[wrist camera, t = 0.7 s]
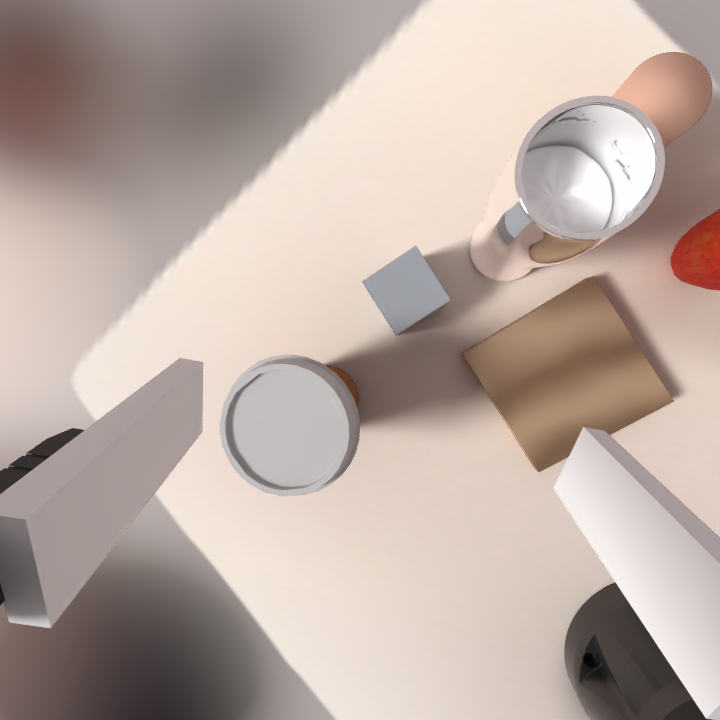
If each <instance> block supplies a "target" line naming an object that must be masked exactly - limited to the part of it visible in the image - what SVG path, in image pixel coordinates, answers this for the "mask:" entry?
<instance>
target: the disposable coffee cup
mask: <svg viewBox="0 0 720 720" xmlns="http://www.w3.org/2000/svg"><path fill="white" fill-rule="evenodd" d="M358 400H359V398H358V391H357V388H356V386H355V384H354V382H353V380H352V379H351V378H350V377H349V376H348V375H347V374H346V373H345V372H343V371H342V370H340V369H338V368H335V367H331V366H325V365H323V364H322V363H320V362H318V361H315V360H313V359H310V358H307V357H302V356H297V355H281V356H274V357H270V358H267V359H265V360H262V361H259V362H258V363H256V364H254V365H252V366H251V367H250V368H248V369H247V370H246V371H245V372H244V373H242V375H241V376H240V377H239V378H238V379H237V380H236V382H235V383H234V385H233V386H232V388H231V390H230V392H229V394H228V397H227V399H226V401H225V402H224V406H223V410H222V414H221V420H220V435H221V440H222V445H223V448H224V450H225V453H226V455H227V457H228V460H229V461H230V463H231V465H232V466H233V468H234V469H235V470H236V471H237V473H238V474H239V475H240V476H241V477H242V478H243V479H245V480H246V481H247V482H248V483H249V484H251V485H252V486H254V487H256V488H258V489H260V490H262V491H264V492H267V493H271V494H275V495H279V496H293V495H304V494H308V493H312V492H316V491H319V490H321V489H323V488H325V487H327V486H329V485H331V484H332V483H333V482H334V481H335V480H336V479H338V478H339V477H340V476H341V475H342V474H343V473H344V472H345V470H346V469H347V468H348V466H349V465H350V463H351V461H352V459H353V457H354V455H355V453H356V450H357V446H358V442H359V433H360V421H359V413H358V410H357V408H358Z"/></svg>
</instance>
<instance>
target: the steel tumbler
mask: <svg viewBox="0 0 720 720" xmlns="http://www.w3.org/2000/svg"><path fill="white" fill-rule="evenodd" d="M664 170H665V152H664V146H663V142H662V139H661V136H660V134H659V132H658V130H657V128H656V126H655V125H654V123H653V122H652V121H651V120H650V118H649V117H648V116H647V115H646V114H645V113H644V112H642V111H641V110H640V109H639V108H637V107H636V106H634V105H632V104H630V103H628V102H626V101H624V100H621V99H617V98H613V97H608V96H587V97H581V98H577V99H574V100H571V101H568V102H565V103H563V104H561V105H559V106H557V107H555V108H554V109H552V110H551V111H549V112H548V113H547V114H545V115H544V116H543V117H542V118H541V119H540V120H538V122H537V123H536V124H535V125H534V126H533V127H532V128H531V130H530V131H529V132H528V134H527V135H526V137H525V138H524V140H523V142H522V143H521V144H520V145H519V147H518V148H517V149H516V151H515V152H514V153H513V155H512V156H511V157H510V159H509V160H508V162H507V163H506V165H505V166H504V168H503V170H502V171H501V173H500V175H499V176H498V178H497V181H496V183H495V185H494V187H493V189H492V191H491V194H490V197H489V201H488V205H487V209H486V216H485V219H483V220H482V221H481V222H480V223H479V225H478V226H477V227H476V229H475V230H474V232H473V234H472V237H471V241H470V255H471V259H472V262H473V264H474V265H475V267H476V268H477V270H478V271H479V272H480V273H481V274H483V275H484V276H486V277H487V278H489V279H492V280H495V281H501V282H508V281H513V280H517V279H519V278H522V277H523V276H525V275H527V274H528V273H529V272H530V271H532V270H533V269H534V267H544V266H550V265H555V264H559V263H562V262H565V261H567V260H570V259H572V258H575V257H577V256H579V255H581V254H583V253H585V252H587V251H589V250H591V249H592V248H594V247H596V246H598V245H599V244H601V243H602V242H604V241H605V240H607V239H608V238H610V237H611V236H613V235H614V234H616V233H617V232H619V231H621V230H623V229H625V228H626V227H628V226H629V225H631V224H632V223H633V222H635V221H636V220H637V219H638V218H639V217H640V216H641V215H642V214H643V213H644V212H645V211H646V210H647V209H648V207H649V206H650V205H651V203H652V202H653V200H654V198H655V197H656V195H657V193H658V191H659V188H660V186H661V183H662V180H663V176H664Z"/></svg>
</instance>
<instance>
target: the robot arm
mask: <svg viewBox="0 0 720 720" xmlns="http://www.w3.org/2000/svg"><path fill="white" fill-rule="evenodd" d="M202 411H203V362H200V361H194V360H188V359H182V358H179V359H178V360H177V361H175V362H174V363H173V364H171V365H170V366H169V367H168V368H166V369H165V370H164V371H162V372H161V373H160V374H158V375H157V376H156V377H154V378H153V379H152V380H150V381H149V382H148V383H146V384H145V385H144V386H142V387H141V388H140V389H138V390H137V391H136V392H135V393H133V394H132V395H131V396H129V397H128V398H127V399H125V400H124V401H123V402H121V403H120V404H119V405H117V406H116V407H115V408H113V409H112V410H111V411H109V412H108V413H107V414H106V415H104V416H103V417H102V418H100V419H99V420H98V421H96V422H95V423H94V424H92V425H91V426H90V427H88V428H87V429H86V430H81V429H75V428H72V429H69V430H67V431H64V432H62V433H60V434H57V435H55V436H53V437H51V438H48V439H46V440H45V441H43V442H42V443H40V444H39V445H37V446H36V447H35V448H33V449H32V450H30V451H29V452H27V454H26V456H22V457H20V458H19V459H17V460H16V461H14V462H13V463H11V464H10V465H9V467H8V468H7V469H6V468H4V469H3V470H1V471H0V605H1V604H2V603H3V602H4V606H5V609H6V612H7V616H8V619H9V622H11V623H18V624H25V625H33V626H40V627H47V628H51V627H52V626H53V625H54V623H55V622H56V621H57V619H58V618H59V617H60V615H61V614H62V613H63V612H64V610H65V609H66V608H67V606H68V605H69V604H70V603H71V601H72V600H73V599H74V597H75V596H76V595H77V594H78V592H79V591H80V590H81V588H82V587H83V586H84V584H85V583H86V582H87V581H88V579H89V578H90V577H91V575H92V574H93V573H94V571H95V570H96V569H97V568H98V566H99V565H100V564H101V562H102V561H103V560H104V558H105V557H106V556H107V555H108V553H109V552H110V550H111V549H112V548H113V547H114V546H115V544H116V543H117V542H118V540H119V539H120V538H121V536H122V535H123V534H124V533H125V531H126V530H127V529H128V527H129V526H130V525H131V523H132V522H133V521H134V519H135V518H136V517H137V516H138V514H139V513H140V512H141V511H142V509H143V508H144V506H145V505H146V504H147V503H148V501H149V500H150V499H151V497H152V496H153V495H154V494H155V492H156V491H157V490H158V488H159V487H160V486H161V485H162V483H163V482H164V481H165V479H166V478H167V477H168V475H169V474H170V473H171V472H172V470H173V469H174V468H175V466H176V465H177V464H178V463H179V461H180V460H181V459H182V457H183V456H184V455H185V453H186V452H187V451H188V450H189V448H190V447H191V446H192V444H193V443H194V442H195V440H196V439H197V438H198V437H199V435H200V434H201V433H202ZM554 491H555V492H556V494H557V495H558V497H559V498H560V500H561V501H562V503H563V504H564V506H565V507H566V509H567V510H568V512H569V513H570V515H571V516H572V518H573V519H574V521H575V522H576V524H577V525H578V527H579V528H580V530H581V531H582V533H583V534H584V536H585V537H586V539H587V540H588V542H589V543H590V545H591V546H592V548H593V549H594V551H595V552H596V554H597V555H598V557H599V558H600V560H601V561H602V563H603V564H604V566H605V567H606V569H607V570H608V572H609V573H610V575H611V576H612V578H613V579H614V581H615V582H616V584H613V585H611V586H609V587H607V588H605V589H603V590H601V591H600V592H598V593H597V594H595V595H594V596H592V597H591V598H590V599H589V600H588V601H587V602H586V603H585V604H584V605H583V606H582V607H581V608H580V609H579V611H578V612H577V613H576V615H575V617H574V618H573V620H572V622H571V624H570V627H569V629H568V632H567V636H566V641H565V663H566V668H567V672H568V675H569V678H570V680H571V683H572V685H573V687H574V689H575V691H576V693H577V696H578V698H579V700H580V702H581V704H582V706H583V708H584V710H585V711H586V713H587V715H588V716H589V718H590V719H591V720H720V537H719V536H718V535H717V534H715V533H714V532H713V531H712V530H711V529H710V528H709V527H708V526H707V525H706V524H705V523H704V522H702V521H701V520H700V519H699V518H698V517H697V516H696V515H695V514H694V513H693V512H692V511H691V510H690V509H688V508H687V507H686V506H685V505H684V504H683V503H682V502H681V501H680V500H679V499H678V498H677V497H676V496H674V495H673V494H672V493H671V492H670V491H669V490H668V489H667V488H666V487H665V486H664V485H663V484H662V483H660V482H659V481H658V480H657V479H656V478H655V477H654V476H653V475H652V474H651V473H650V472H649V471H647V470H646V469H645V468H644V467H643V466H642V465H641V464H640V463H639V462H638V461H637V460H636V459H635V458H633V457H632V456H631V455H630V454H629V453H628V452H627V451H626V450H625V449H624V448H623V447H622V446H621V445H619V444H618V443H617V442H616V441H615V440H614V439H613V438H612V437H611V436H610V435H609V434H608V433H607V432H605V431H604V430H598V429H592V428H586V427H583V429H582V431H581V433H580V435H579V437H578V439H577V441H576V443H575V445H574V447H573V449H572V451H571V454H570V456H569V458H568V460H567V462H566V464H565V466H564V468H563V470H562V472H561V474H560V476H559V478H558V480H557V483H556V485H555V487H554Z"/></svg>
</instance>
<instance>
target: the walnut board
mask: <svg viewBox="0 0 720 720" xmlns="http://www.w3.org/2000/svg"><path fill="white" fill-rule="evenodd" d="M462 355H463V356H464V358H465V359H466V361H467V362H468V364H469V366H470V367H471V369H472V370H473V372H474V374H475V375H476V377H477V378H478V380H479V381H480V383H481V385H482V386H483V388H484V389H485V391H486V392H487V394H488V396H489V397H490V399H491V400H492V402H493V404H494V405H495V407H496V408H497V410H498V411H499V413H500V415H501V416H502V418H503V419H504V421H505V422H506V424H507V426H508V427H509V429H510V430H511V432H512V434H513V435H514V437H515V438H516V440H517V441H518V443H519V445H520V446H521V448H522V449H523V451H524V453H525V454H526V456H527V457H528V459H529V460H530V462H531V464H532V465H533V466H534V468H535V469H536V470H537V471H538V472H540V471H542V470H544V469H546V468H548V467H550V466H552V465H554V464H556V463H557V462H559V461H561V460H563V459H565V458H567V457H569V456H570V454H571V451H572V449H573V447H574V445H575V443H576V441H577V439H578V437H579V435H580V433H581V431H582V429H583V427H586V428H592V429H598V430H604V431H605V432H607V433H608V434H609V435H611V434H613V433H614V432H616V431H618V430H620V429H622V428H624V427H626V426H628V425H630V424H632V423H633V422H635V421H637V420H639V419H641V418H643V417H645V416H647V415H649V414H651V413H652V412H654V411H656V410H658V409H660V408H662V407H664V406H666V405H668V404H669V403H671V402H673V401H674V400H673V399H672V397H671V396H670V394H669V392H668V391H667V389H666V388H665V386H664V385H663V383H662V382H661V380H660V379H659V377H658V375H657V374H656V372H655V371H654V369H653V368H652V366H651V365H650V363H649V361H648V360H647V358H646V357H645V355H644V354H643V352H642V351H641V349H640V347H639V346H638V344H637V343H636V341H635V340H634V338H633V337H632V335H631V333H630V332H629V330H628V329H627V327H626V326H625V324H624V323H623V321H622V319H621V318H620V316H619V315H618V313H617V312H616V310H615V309H614V307H613V306H612V304H611V302H610V301H609V299H608V298H607V296H606V295H605V293H604V292H603V290H602V288H601V287H600V285H599V284H598V282H597V281H596V279H595V278H594V276H592V277H589V278H586V279H584V280H582V281H581V282H579V283H577V284H576V285H574V286H572V287H571V288H569V289H567V290H566V291H564V292H562V293H561V294H559V295H557V296H556V297H554V298H552V299H551V300H549V301H548V302H546V303H544V304H543V305H541V306H539V307H538V308H536V309H534V310H533V311H531V312H529V313H528V314H526V315H524V316H523V317H521V318H519V319H518V320H516V321H514V322H513V323H511V324H509V325H508V326H506V327H504V328H503V329H501V330H499V331H498V332H496V333H494V334H493V335H491V336H489V337H488V338H486V339H485V340H483V341H481V342H480V343H478V344H476V345H475V346H473V347H471V348H470V349H468V350H466V351H465V352H463V353H462Z"/></svg>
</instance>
